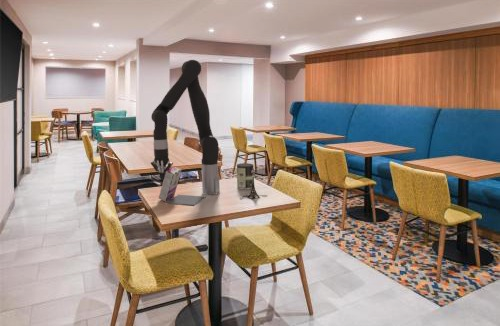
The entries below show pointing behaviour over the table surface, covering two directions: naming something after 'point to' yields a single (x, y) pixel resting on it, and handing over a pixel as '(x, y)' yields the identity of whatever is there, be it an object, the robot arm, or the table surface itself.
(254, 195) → the eiffel tower figurine
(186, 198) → the place mat
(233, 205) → the table surface
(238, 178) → the coffee can
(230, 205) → the table surface
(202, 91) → the robot arm
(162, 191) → the candy bar box
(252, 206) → the table surface
